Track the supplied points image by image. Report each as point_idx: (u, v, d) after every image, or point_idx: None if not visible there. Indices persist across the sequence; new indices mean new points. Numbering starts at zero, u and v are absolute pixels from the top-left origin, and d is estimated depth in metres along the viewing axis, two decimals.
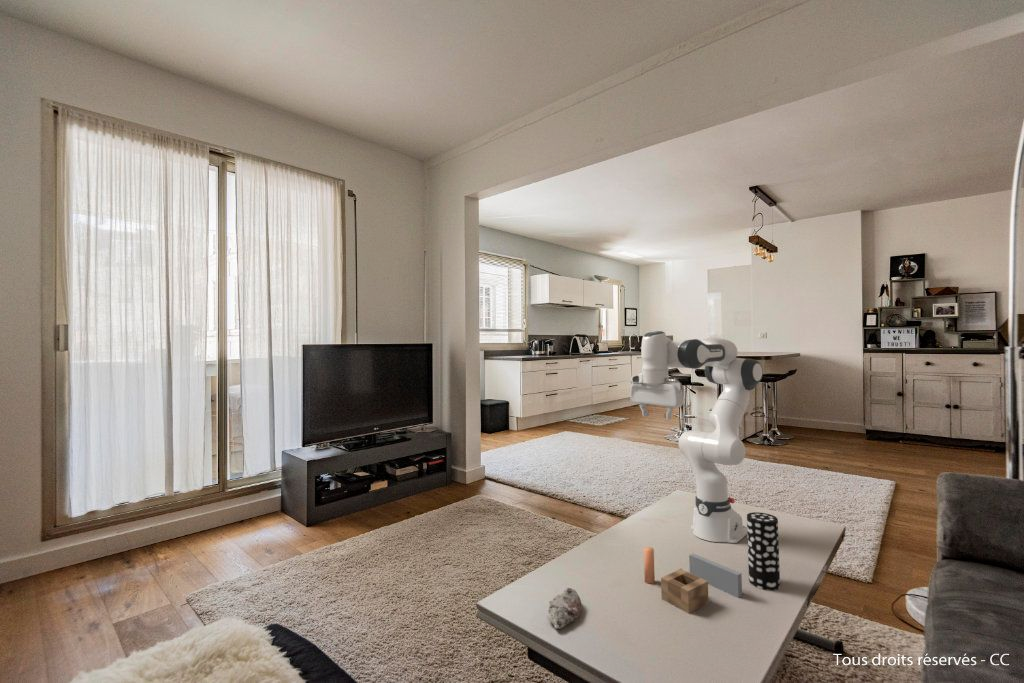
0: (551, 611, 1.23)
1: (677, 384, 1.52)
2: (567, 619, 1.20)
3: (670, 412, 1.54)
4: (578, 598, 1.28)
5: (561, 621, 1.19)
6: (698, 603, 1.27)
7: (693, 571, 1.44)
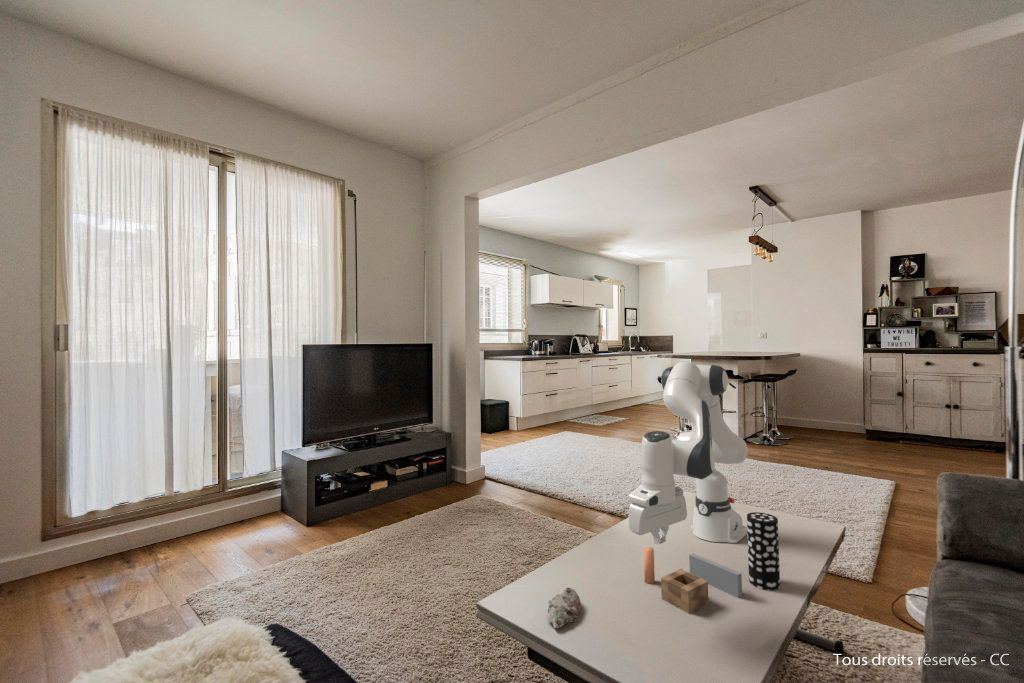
0: (550, 610, 1.23)
1: (681, 492, 1.31)
2: (566, 619, 1.20)
3: None
4: (577, 598, 1.28)
5: (560, 620, 1.19)
6: (698, 603, 1.27)
7: (693, 571, 1.44)
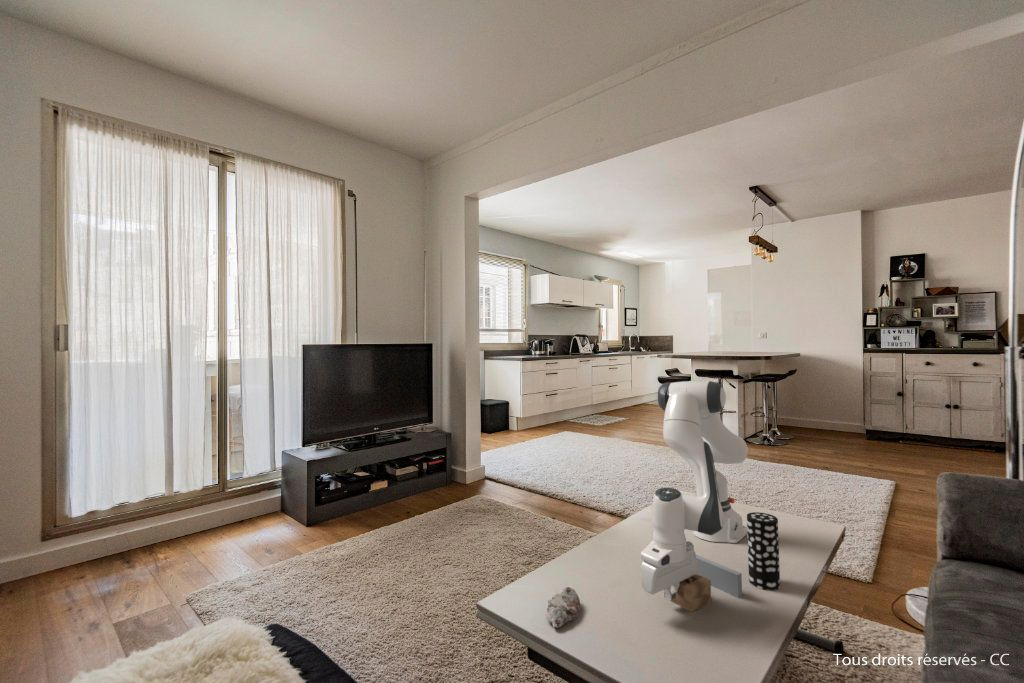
0: (550, 610, 1.23)
1: (691, 546, 1.33)
2: (565, 618, 1.20)
3: None
4: (577, 597, 1.29)
5: (560, 620, 1.20)
6: (701, 602, 1.28)
7: None
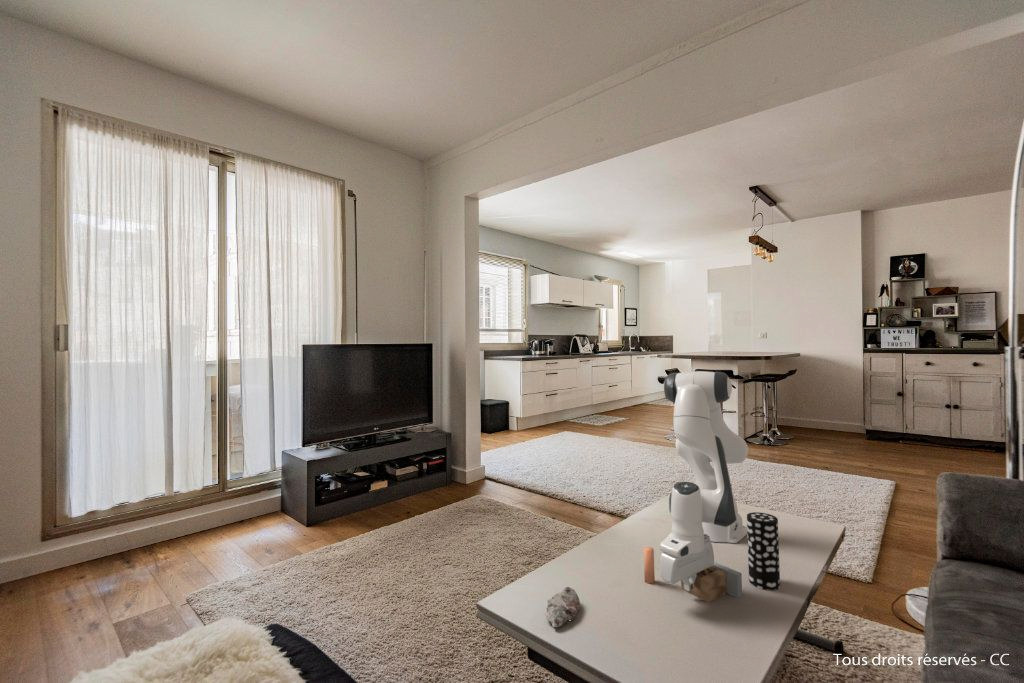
0: (549, 610, 1.24)
1: (708, 539, 1.38)
2: (565, 618, 1.20)
3: None
4: (576, 597, 1.29)
5: (559, 619, 1.20)
6: (717, 593, 1.32)
7: None
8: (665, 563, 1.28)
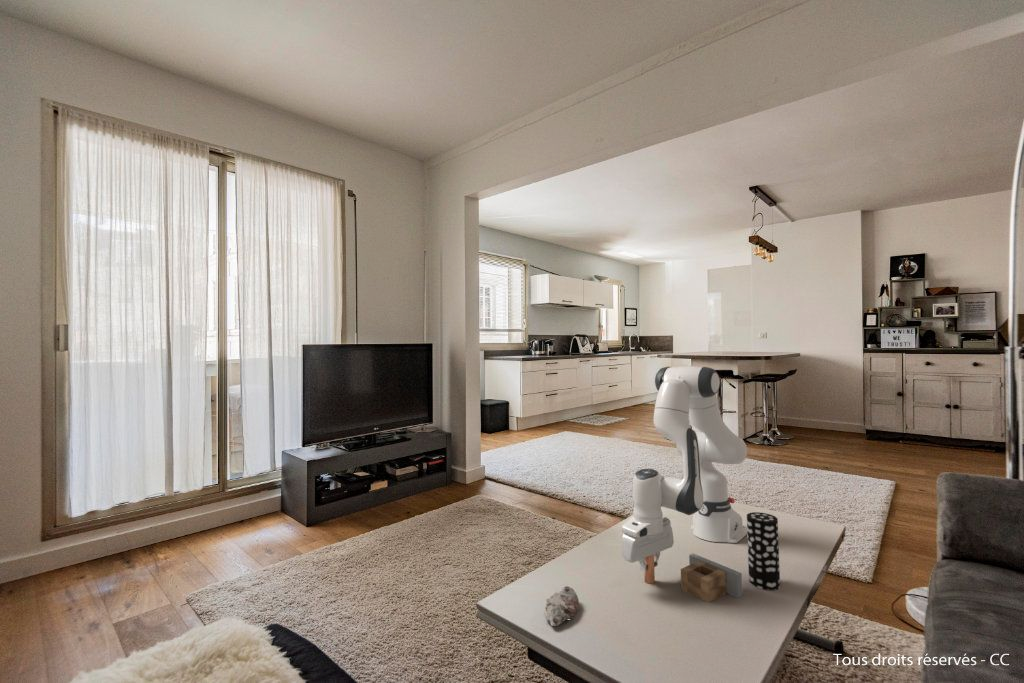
0: (548, 609, 1.24)
1: (668, 522, 1.47)
2: (563, 617, 1.21)
3: None
4: (575, 596, 1.29)
5: (557, 618, 1.20)
6: (717, 593, 1.32)
7: None
8: (626, 543, 1.37)
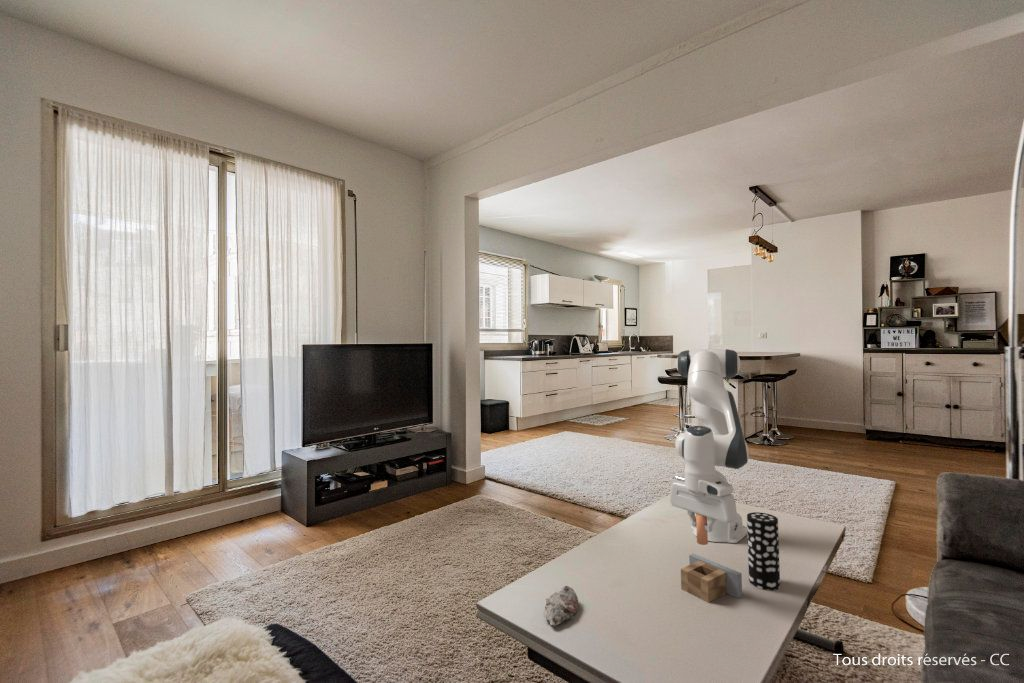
0: (547, 608, 1.24)
1: None
2: (563, 616, 1.21)
3: None
4: (575, 596, 1.29)
5: (557, 618, 1.20)
6: (717, 593, 1.32)
7: None
8: (730, 504, 1.28)
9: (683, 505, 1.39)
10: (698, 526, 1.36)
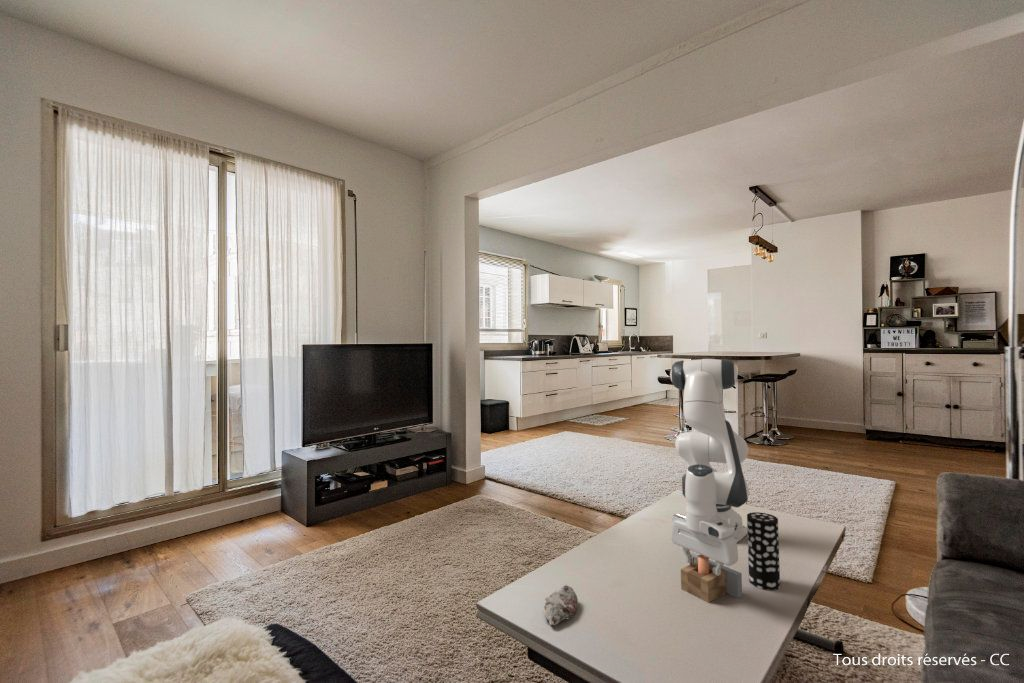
0: (547, 608, 1.25)
1: None
2: (562, 616, 1.21)
3: None
4: (574, 595, 1.29)
5: (556, 617, 1.21)
6: (717, 593, 1.32)
7: None
8: (732, 546, 1.28)
9: (684, 544, 1.39)
10: None
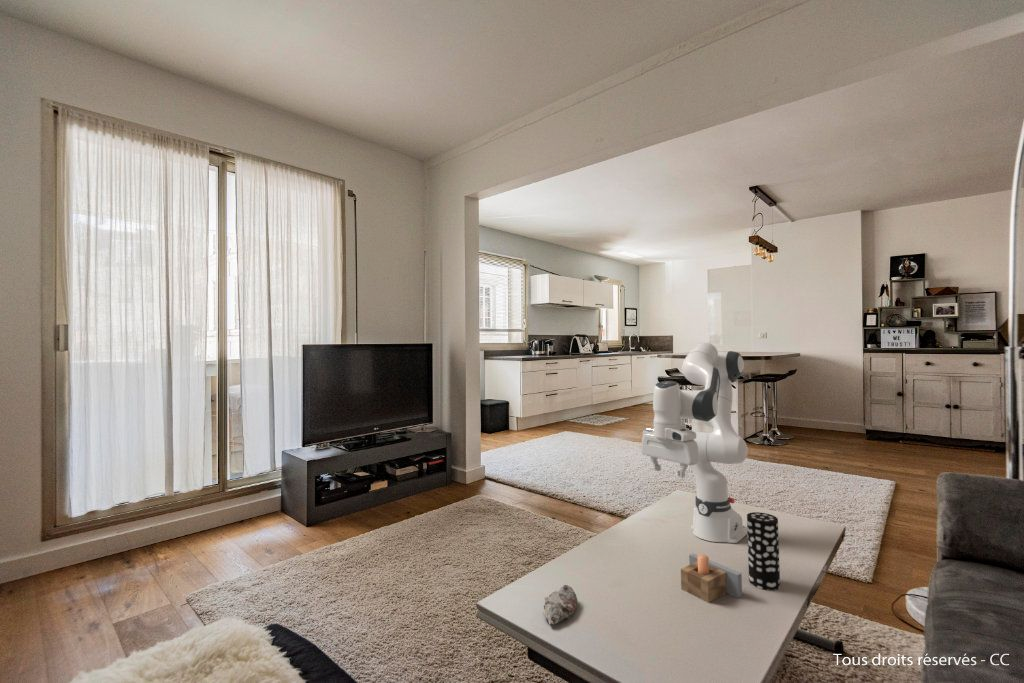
0: (546, 607, 1.25)
1: None
2: (561, 615, 1.21)
3: None
4: (574, 595, 1.30)
5: (556, 617, 1.21)
6: (717, 593, 1.32)
7: None
8: (693, 448, 1.42)
9: (652, 453, 1.53)
10: None
